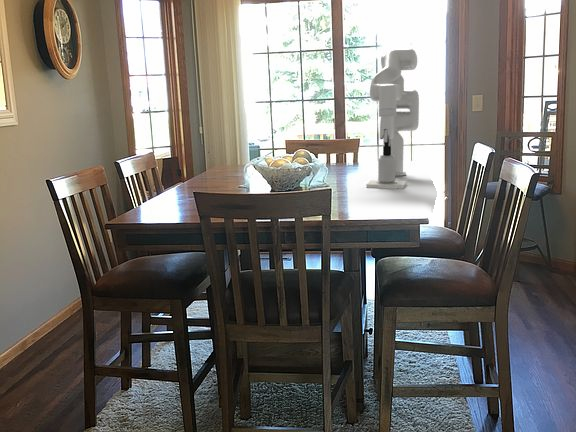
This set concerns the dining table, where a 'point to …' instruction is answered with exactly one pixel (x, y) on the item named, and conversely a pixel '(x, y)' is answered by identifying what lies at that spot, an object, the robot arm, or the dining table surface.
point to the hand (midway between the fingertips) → (387, 155)
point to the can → (386, 169)
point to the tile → (386, 184)
